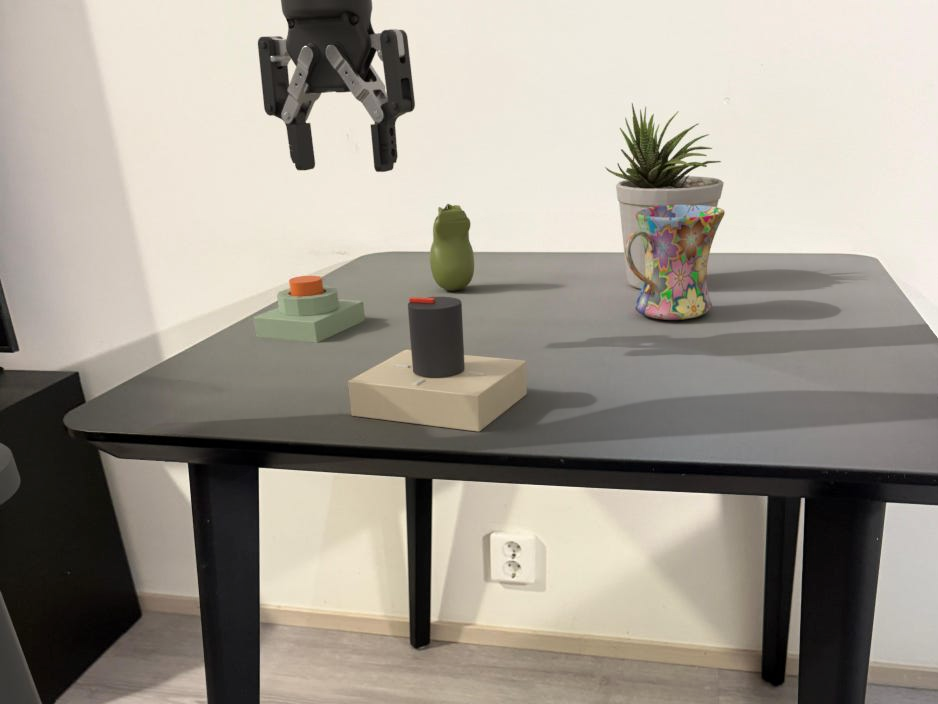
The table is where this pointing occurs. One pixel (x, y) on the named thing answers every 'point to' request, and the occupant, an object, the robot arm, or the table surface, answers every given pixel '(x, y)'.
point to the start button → (306, 286)
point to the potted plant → (658, 182)
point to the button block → (309, 316)
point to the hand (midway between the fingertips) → (344, 170)
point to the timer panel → (439, 392)
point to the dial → (436, 336)
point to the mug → (674, 259)
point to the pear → (451, 249)
